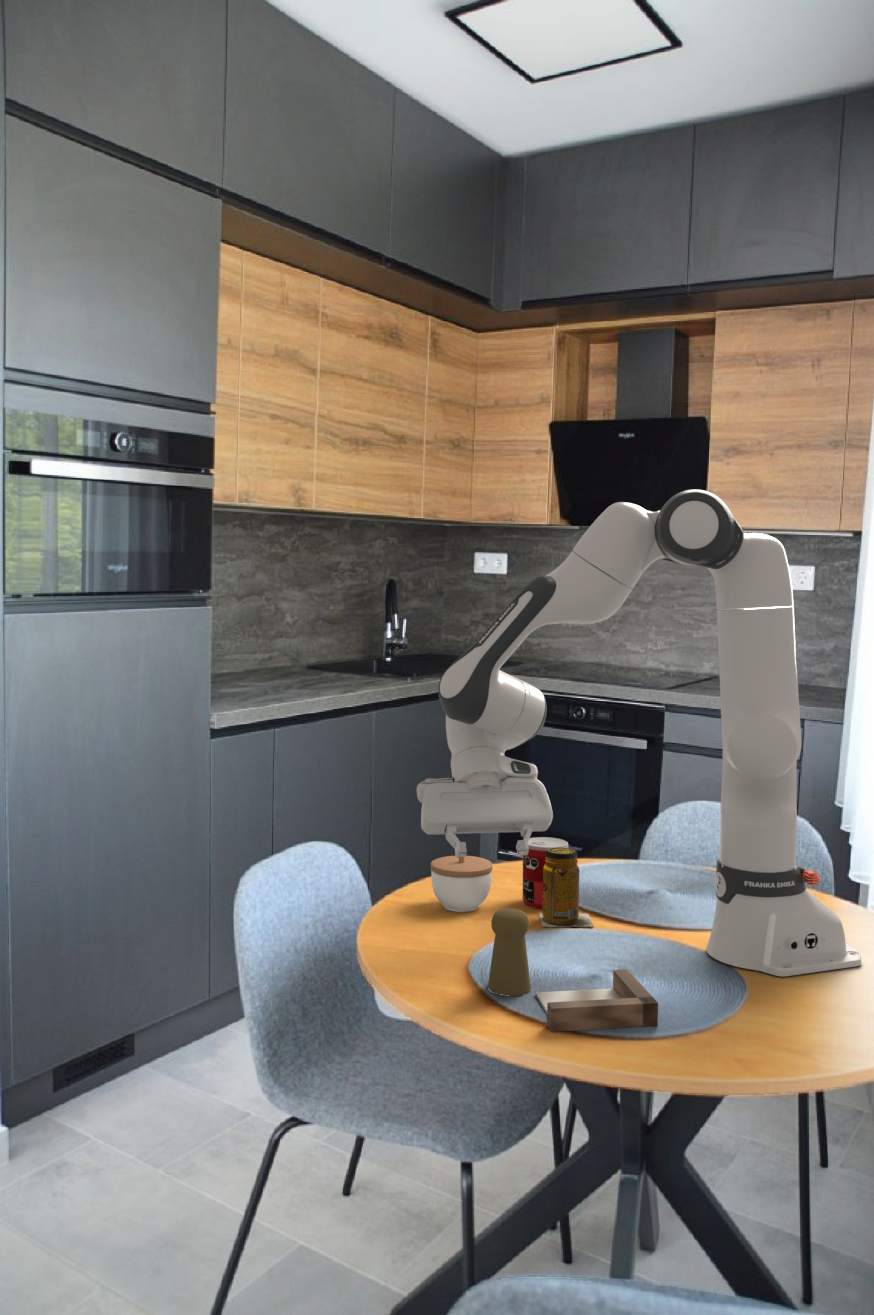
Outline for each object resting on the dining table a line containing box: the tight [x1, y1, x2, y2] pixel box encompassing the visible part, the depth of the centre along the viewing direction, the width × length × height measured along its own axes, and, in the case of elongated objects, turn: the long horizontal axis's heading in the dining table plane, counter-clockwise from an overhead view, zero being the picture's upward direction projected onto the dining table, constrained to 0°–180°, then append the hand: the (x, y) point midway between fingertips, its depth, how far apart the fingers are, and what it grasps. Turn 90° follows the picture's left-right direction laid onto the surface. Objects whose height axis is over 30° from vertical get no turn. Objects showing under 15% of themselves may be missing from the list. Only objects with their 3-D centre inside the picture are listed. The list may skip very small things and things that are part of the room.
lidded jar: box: [430, 855, 493, 913], centre depth 186 cm, size 11×11×9 cm
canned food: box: [522, 836, 569, 910], centre depth 188 cm, size 8×8×11 cm
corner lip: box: [535, 968, 659, 1033], centre depth 141 cm, size 14×12×3 cm
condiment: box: [538, 847, 595, 928], centre depth 179 cm, size 7×8×12 cm
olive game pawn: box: [487, 908, 532, 997], centre depth 148 cm, size 6×6×11 cm
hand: (492, 854), depth 160 cm, fingers open, 8 cm apart
